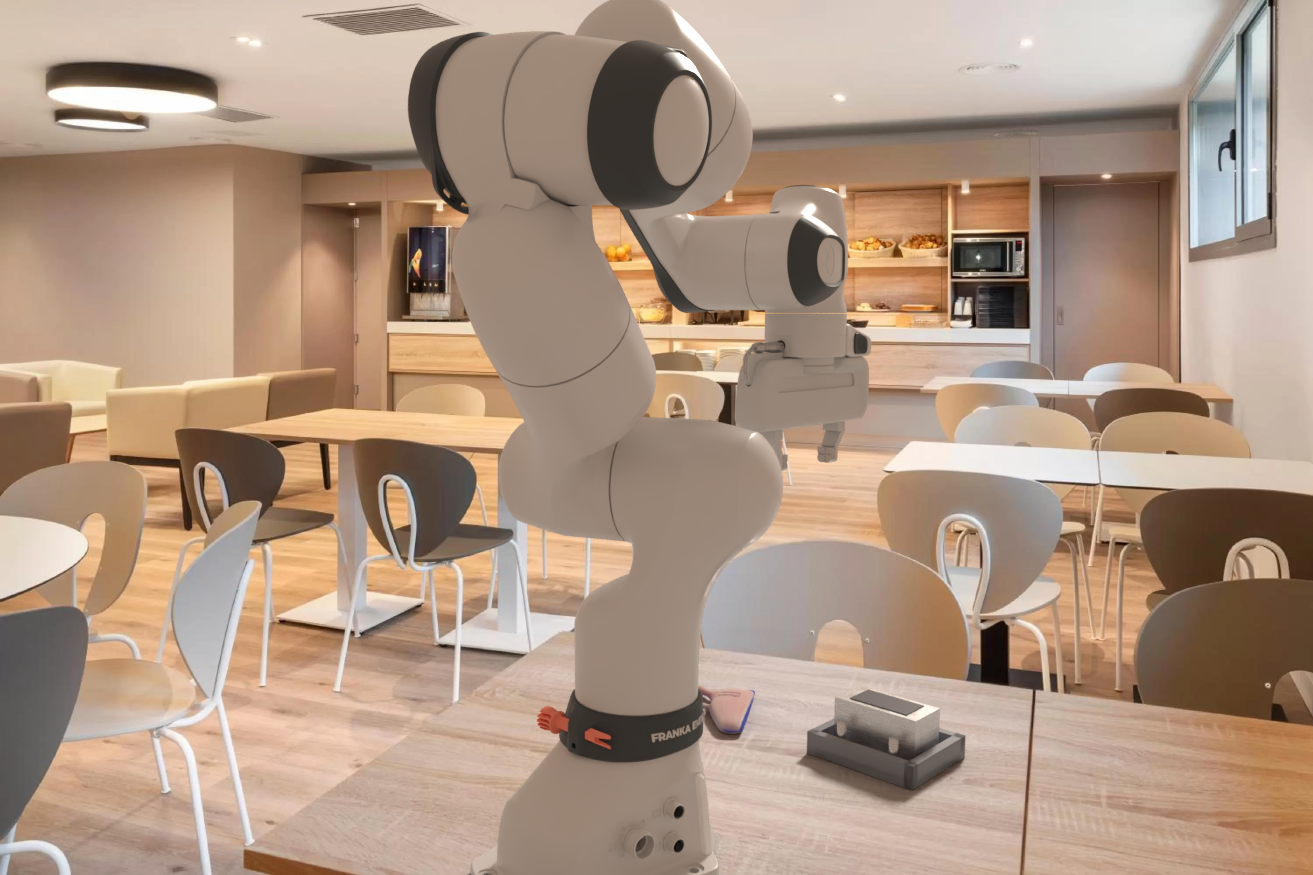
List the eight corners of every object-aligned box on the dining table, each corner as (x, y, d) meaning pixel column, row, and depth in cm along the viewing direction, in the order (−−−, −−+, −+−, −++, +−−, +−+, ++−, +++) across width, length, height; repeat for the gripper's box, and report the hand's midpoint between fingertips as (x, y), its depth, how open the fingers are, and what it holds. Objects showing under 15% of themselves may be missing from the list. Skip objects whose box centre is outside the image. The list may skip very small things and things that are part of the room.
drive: (914, 767, 110) (915, 720, 109) (833, 740, 117) (834, 695, 116) (938, 752, 114) (940, 707, 113) (858, 727, 120) (860, 684, 120)
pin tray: (912, 790, 107) (913, 752, 106) (806, 753, 116) (807, 718, 115) (964, 757, 115) (966, 722, 114) (862, 724, 124) (863, 692, 123)
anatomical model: (742, 743, 120) (758, 696, 135) (742, 718, 120) (759, 674, 134) (571, 724, 125) (605, 681, 139) (571, 701, 124) (605, 659, 139)
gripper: (769, 343, 105) (767, 480, 107) (880, 339, 120) (876, 459, 122) (721, 341, 110) (720, 473, 111) (833, 338, 124) (830, 454, 126)
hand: (802, 466), depth 117 cm, fingers open, 8 cm apart
